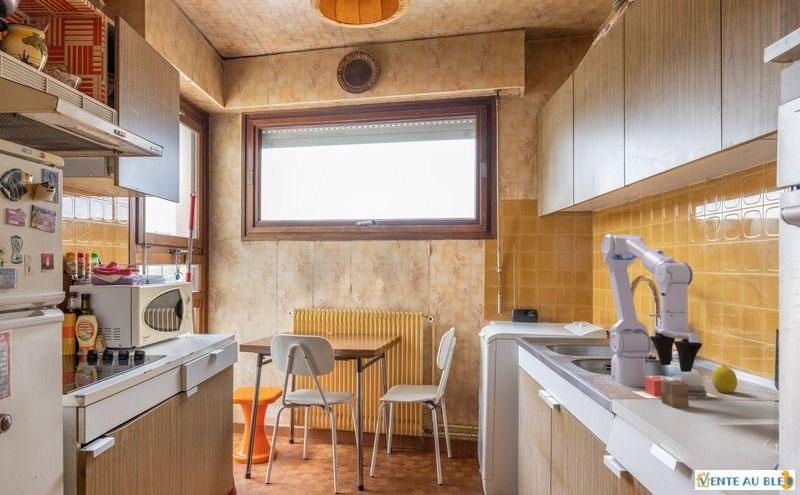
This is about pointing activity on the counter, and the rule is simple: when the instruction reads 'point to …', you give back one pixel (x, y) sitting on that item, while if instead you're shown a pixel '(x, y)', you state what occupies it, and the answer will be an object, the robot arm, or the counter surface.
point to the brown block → (674, 393)
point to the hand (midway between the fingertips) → (675, 368)
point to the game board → (690, 393)
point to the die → (653, 386)
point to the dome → (693, 381)
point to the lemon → (724, 379)
